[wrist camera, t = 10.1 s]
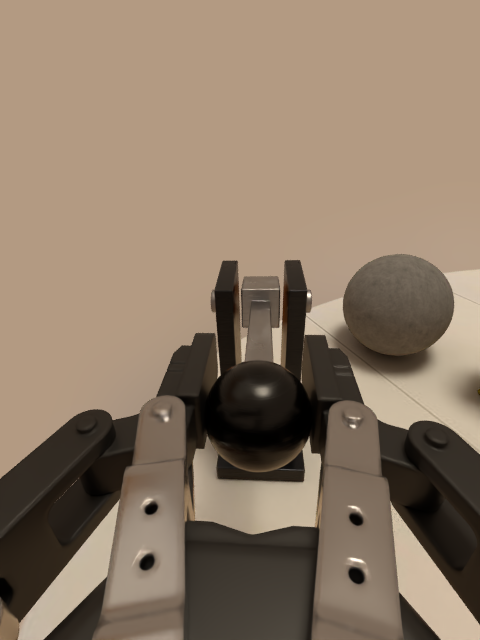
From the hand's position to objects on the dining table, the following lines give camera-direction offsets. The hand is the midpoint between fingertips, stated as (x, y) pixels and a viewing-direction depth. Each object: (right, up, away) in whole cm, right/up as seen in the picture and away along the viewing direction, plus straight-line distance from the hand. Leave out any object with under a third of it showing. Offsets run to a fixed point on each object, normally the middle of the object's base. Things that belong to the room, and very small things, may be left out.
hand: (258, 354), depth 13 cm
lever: (0, -1, +3) cm, 3 cm away
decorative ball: (+15, -2, +24) cm, 28 cm away
